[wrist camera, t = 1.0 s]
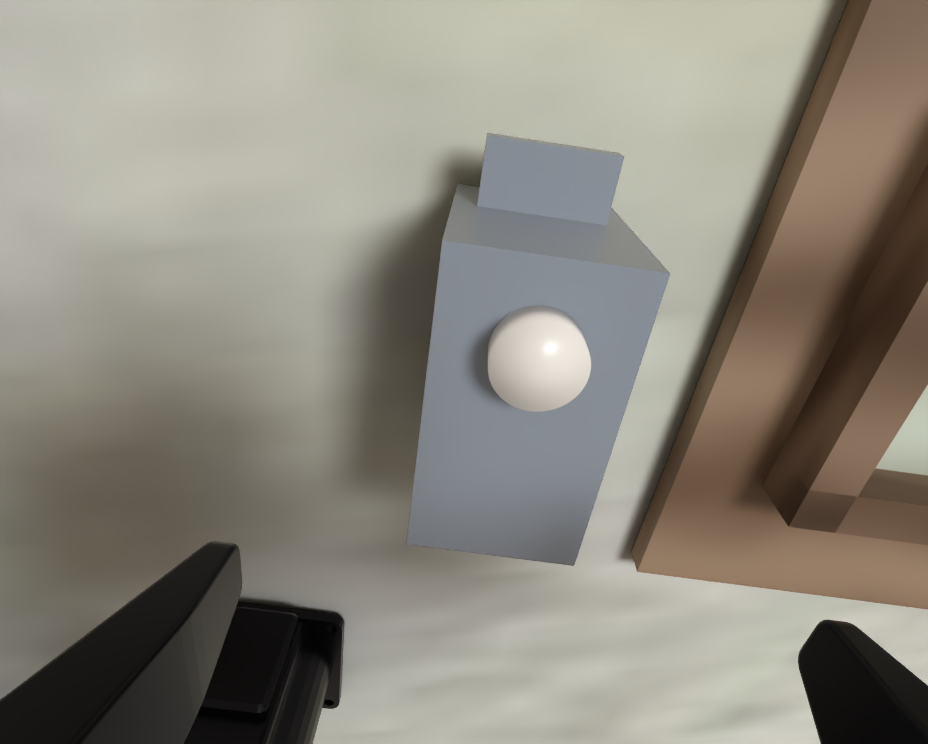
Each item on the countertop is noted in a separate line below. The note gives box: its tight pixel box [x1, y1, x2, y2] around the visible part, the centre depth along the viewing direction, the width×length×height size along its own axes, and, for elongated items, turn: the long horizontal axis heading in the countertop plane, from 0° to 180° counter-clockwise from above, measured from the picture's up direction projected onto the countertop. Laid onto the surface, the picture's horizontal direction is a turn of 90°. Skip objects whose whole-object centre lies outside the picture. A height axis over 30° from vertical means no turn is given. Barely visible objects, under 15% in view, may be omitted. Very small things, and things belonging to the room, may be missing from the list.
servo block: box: [406, 133, 670, 566], centre depth 15 cm, size 11×4×7 cm, turn 172°
